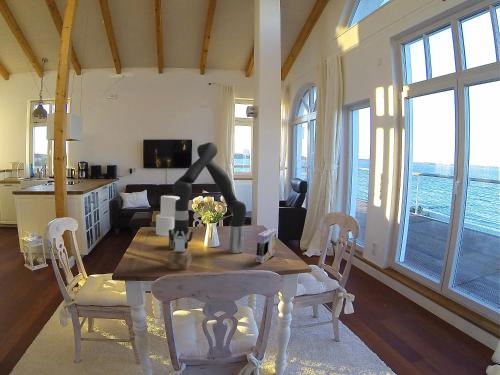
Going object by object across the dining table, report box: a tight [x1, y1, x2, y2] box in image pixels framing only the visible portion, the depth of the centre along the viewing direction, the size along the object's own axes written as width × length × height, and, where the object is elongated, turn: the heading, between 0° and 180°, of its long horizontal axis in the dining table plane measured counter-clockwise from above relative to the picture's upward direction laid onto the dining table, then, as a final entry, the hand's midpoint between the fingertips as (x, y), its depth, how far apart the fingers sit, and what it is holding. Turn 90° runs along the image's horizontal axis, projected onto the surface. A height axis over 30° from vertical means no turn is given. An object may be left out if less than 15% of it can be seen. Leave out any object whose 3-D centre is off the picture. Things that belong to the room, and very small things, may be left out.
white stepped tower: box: [155, 195, 181, 237], centre depth 248 cm, size 17×17×28 cm
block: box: [175, 236, 187, 252], centre depth 179 cm, size 5×5×7 cm
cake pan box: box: [255, 228, 278, 263], centre depth 197 cm, size 19×5×18 cm, turn 151°
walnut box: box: [168, 249, 193, 271], centre depth 180 cm, size 10×10×8 cm
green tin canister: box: [168, 231, 176, 250], centre depth 214 cm, size 9×9×15 cm
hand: (180, 248), depth 179 cm, fingers closed on block, 5 cm apart
